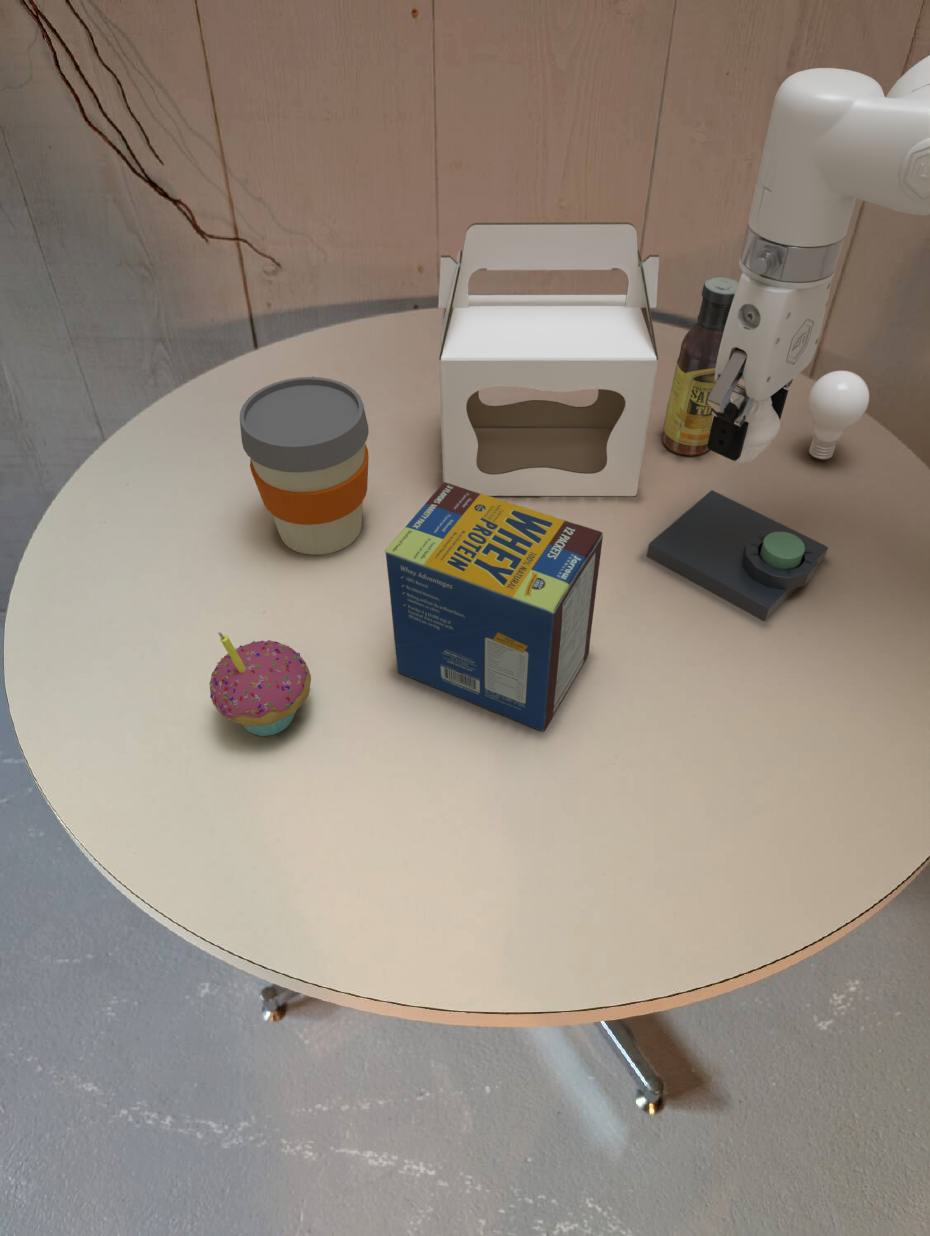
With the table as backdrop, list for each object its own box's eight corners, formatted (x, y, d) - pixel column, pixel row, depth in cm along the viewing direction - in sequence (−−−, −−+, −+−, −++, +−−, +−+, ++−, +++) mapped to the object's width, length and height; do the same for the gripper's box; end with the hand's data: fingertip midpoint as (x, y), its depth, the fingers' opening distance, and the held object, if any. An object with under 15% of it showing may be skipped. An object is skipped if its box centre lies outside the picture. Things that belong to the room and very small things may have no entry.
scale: (832, 564, 94) (841, 539, 92) (773, 627, 88) (781, 601, 86) (708, 502, 101) (714, 477, 99) (646, 556, 95) (650, 531, 93)
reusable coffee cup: (266, 574, 94) (238, 456, 83) (260, 499, 103) (234, 383, 92) (386, 557, 96) (374, 439, 85) (370, 484, 104) (357, 368, 93)
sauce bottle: (679, 464, 106) (711, 305, 92) (650, 435, 110) (676, 279, 96) (726, 450, 108) (764, 292, 94) (696, 422, 112) (728, 267, 98)
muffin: (784, 464, 86) (803, 400, 80) (727, 478, 84) (743, 414, 79) (748, 428, 90) (764, 365, 85) (693, 441, 88) (707, 378, 83)
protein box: (447, 602, 91) (442, 478, 80) (590, 655, 86) (606, 531, 75) (394, 673, 85) (381, 550, 74) (544, 735, 80) (555, 612, 68)
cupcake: (242, 768, 78) (212, 679, 69) (206, 702, 83) (174, 611, 74) (332, 725, 81) (314, 634, 72) (292, 663, 86) (271, 571, 77)
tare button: (808, 555, 91) (812, 543, 90) (788, 575, 89) (792, 564, 88) (772, 537, 93) (776, 525, 92) (752, 557, 91) (755, 545, 90)
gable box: (626, 429, 111) (659, 194, 91) (638, 497, 102) (678, 254, 82) (445, 428, 112) (438, 195, 91) (441, 497, 103) (432, 254, 82)
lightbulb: (780, 456, 107) (805, 374, 99) (810, 434, 110) (836, 353, 102) (828, 480, 104) (857, 397, 96) (857, 457, 107) (888, 375, 99)
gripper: (778, 304, 66) (728, 497, 79) (883, 228, 75) (823, 413, 88) (690, 272, 70) (657, 462, 83) (801, 203, 79) (755, 385, 92)
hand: (743, 435), depth 85 cm, fingers closed on muffin, 6 cm apart
